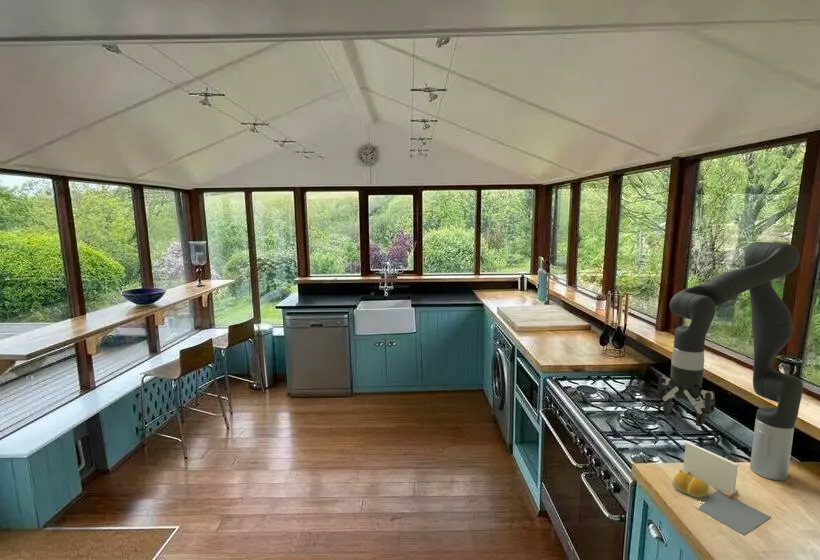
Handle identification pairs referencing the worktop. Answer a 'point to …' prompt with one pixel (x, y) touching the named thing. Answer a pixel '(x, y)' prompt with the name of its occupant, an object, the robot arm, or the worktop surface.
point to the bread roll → (690, 484)
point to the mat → (732, 512)
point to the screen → (711, 469)
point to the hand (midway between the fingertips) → (682, 418)
